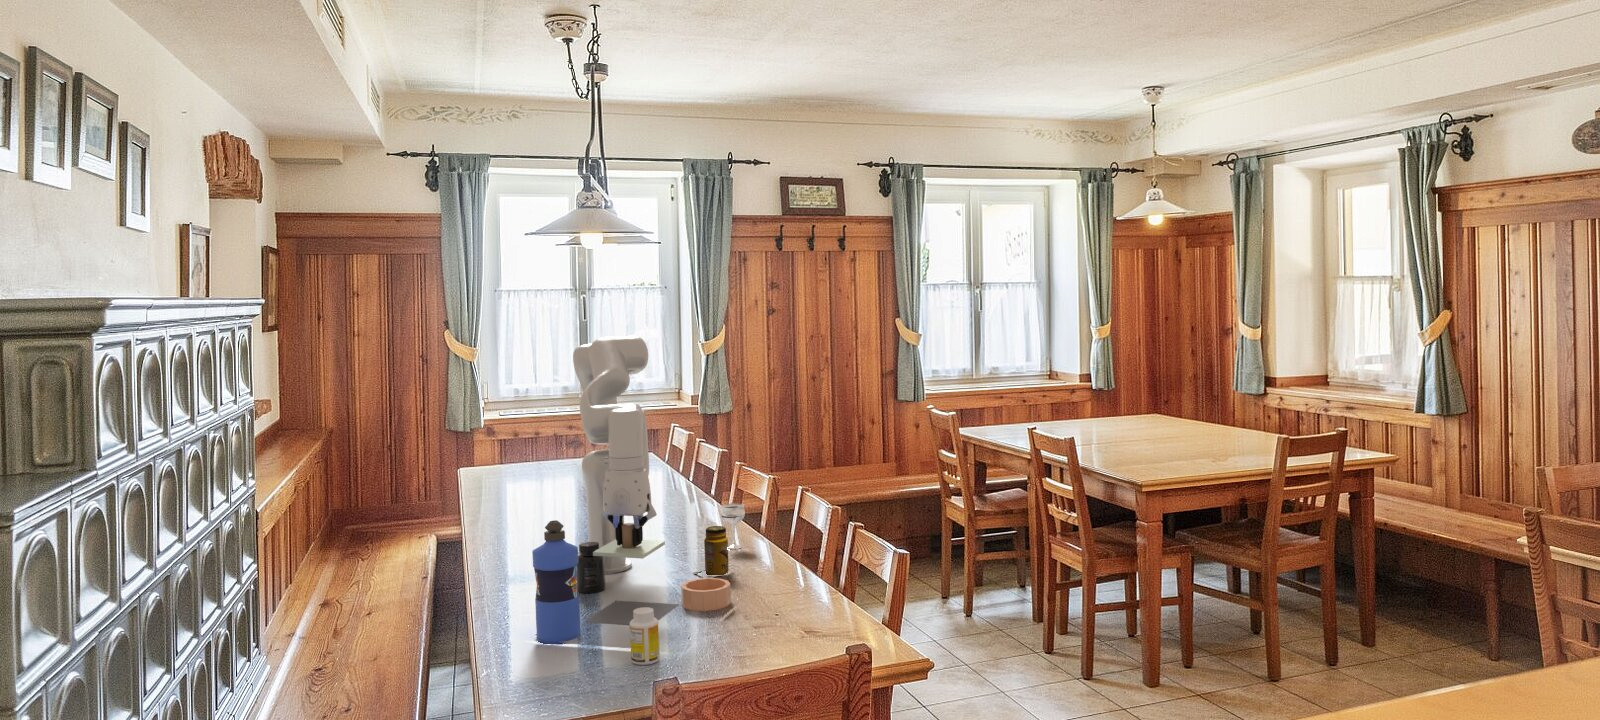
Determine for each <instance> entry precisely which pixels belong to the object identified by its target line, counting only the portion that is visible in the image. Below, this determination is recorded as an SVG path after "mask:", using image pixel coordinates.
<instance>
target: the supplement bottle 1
mask: <svg viewBox="0 0 1600 720" xmlns="http://www.w3.org/2000/svg"><path fill="white" fill-rule="evenodd" d="M597 549H599V543H598V542H588V541H585V542H582V543H579V545H578V551H579V553H580V555H578V565H577V579H576V583H577V588H578V594H580V595H581V594H583V595H592V594H599V593H602V592H605V590H606V576H605V575H606V574H605V570H604V557H603V556H593V552H594V551H596V550H597Z"/></svg>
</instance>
